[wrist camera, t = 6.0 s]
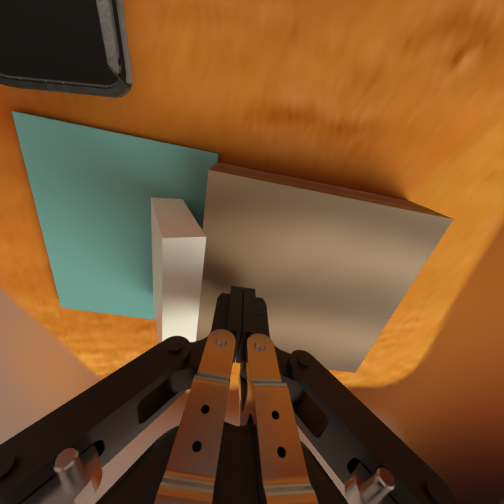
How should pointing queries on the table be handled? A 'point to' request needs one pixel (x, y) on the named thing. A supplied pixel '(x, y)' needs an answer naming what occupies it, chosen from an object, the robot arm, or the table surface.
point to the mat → (105, 207)
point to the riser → (312, 258)
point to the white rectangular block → (176, 268)
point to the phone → (65, 46)
